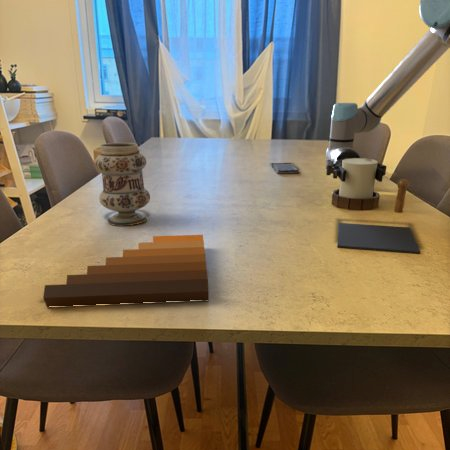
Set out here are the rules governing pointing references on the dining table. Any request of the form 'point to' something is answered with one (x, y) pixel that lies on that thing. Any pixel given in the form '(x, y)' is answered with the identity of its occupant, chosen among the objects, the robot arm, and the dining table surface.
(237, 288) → the dining table surface
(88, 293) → the pan flute
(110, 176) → the apothecary jar
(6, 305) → the dining table surface
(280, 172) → the phone
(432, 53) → the robot arm
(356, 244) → the mat
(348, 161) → the can
